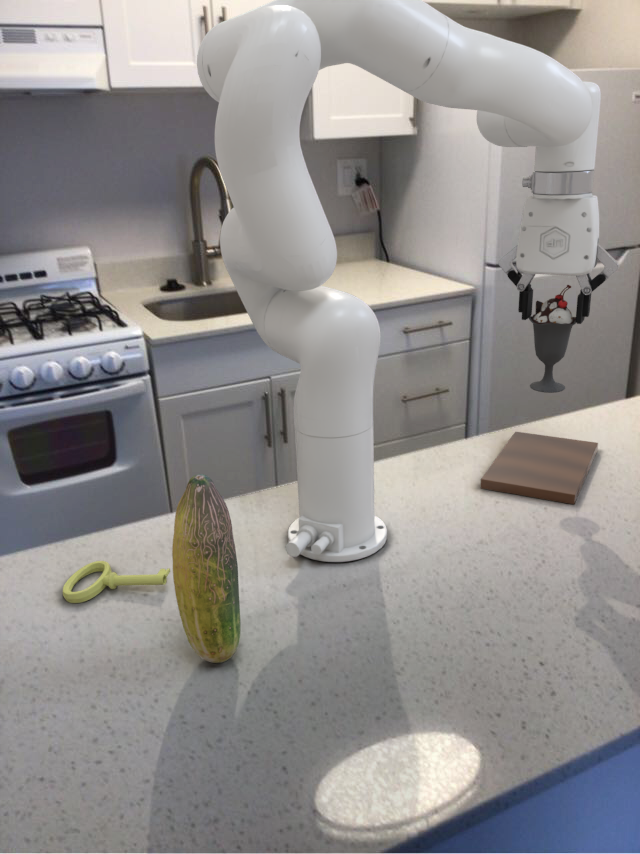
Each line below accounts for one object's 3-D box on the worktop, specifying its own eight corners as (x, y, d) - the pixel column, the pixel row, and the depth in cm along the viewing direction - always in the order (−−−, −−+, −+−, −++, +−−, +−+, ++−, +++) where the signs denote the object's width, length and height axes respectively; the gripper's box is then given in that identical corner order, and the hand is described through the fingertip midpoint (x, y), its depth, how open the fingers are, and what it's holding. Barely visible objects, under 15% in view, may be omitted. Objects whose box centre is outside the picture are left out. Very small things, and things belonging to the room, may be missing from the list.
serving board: (574, 504, 103) (575, 494, 102) (480, 488, 108) (480, 478, 108) (597, 451, 119) (598, 442, 118) (514, 439, 125) (515, 431, 124)
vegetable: (174, 672, 73) (150, 485, 66) (195, 633, 79) (174, 457, 72) (234, 677, 72) (216, 488, 65) (251, 637, 78) (236, 459, 71)
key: (171, 593, 86) (169, 577, 85) (59, 606, 85) (56, 590, 84) (173, 560, 93) (171, 545, 92) (69, 572, 91) (66, 557, 90)
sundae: (574, 395, 105) (584, 288, 100) (524, 393, 107) (532, 287, 101) (569, 381, 111) (579, 279, 106) (522, 379, 113) (529, 278, 107)
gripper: (489, 188, 100) (484, 321, 106) (630, 187, 92) (615, 331, 98) (504, 184, 106) (498, 310, 112) (637, 183, 98) (622, 318, 105)
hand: (553, 318), depth 105 cm, fingers closed on sundae, 6 cm apart
